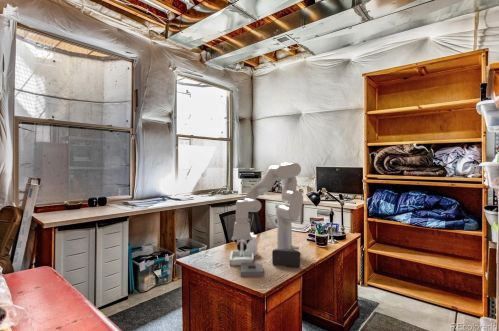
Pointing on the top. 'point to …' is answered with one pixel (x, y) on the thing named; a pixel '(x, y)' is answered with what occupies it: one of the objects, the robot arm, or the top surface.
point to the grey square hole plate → (251, 269)
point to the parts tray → (241, 258)
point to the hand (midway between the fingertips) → (241, 250)
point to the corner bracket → (252, 244)
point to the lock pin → (241, 249)
